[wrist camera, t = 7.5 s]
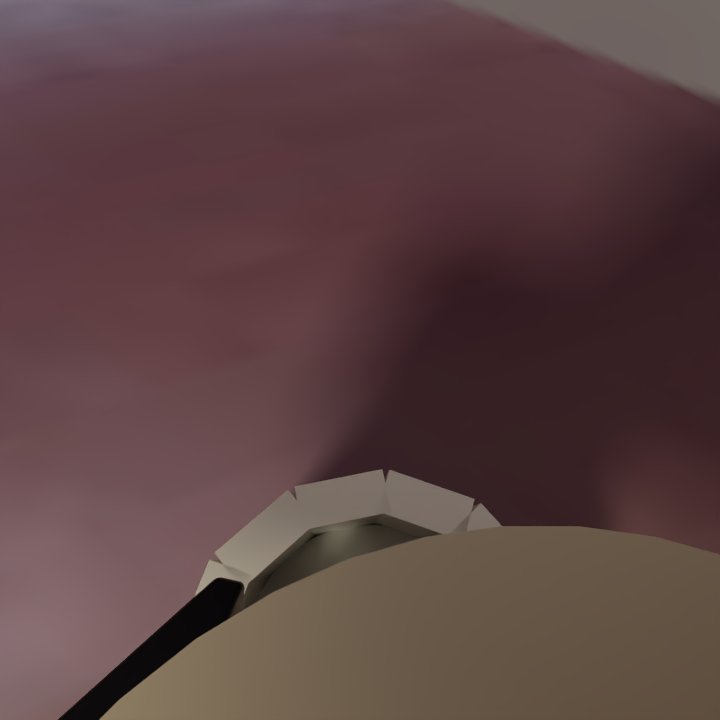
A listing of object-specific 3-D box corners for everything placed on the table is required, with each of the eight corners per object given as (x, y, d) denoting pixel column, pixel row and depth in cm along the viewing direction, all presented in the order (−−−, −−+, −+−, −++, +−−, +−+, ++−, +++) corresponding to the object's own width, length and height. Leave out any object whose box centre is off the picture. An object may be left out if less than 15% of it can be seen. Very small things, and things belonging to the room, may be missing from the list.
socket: (580, 663, 16) (658, 696, 12) (351, 927, 13) (357, 1069, 10) (377, 436, 18) (389, 403, 14) (149, 635, 15) (89, 659, 12)
